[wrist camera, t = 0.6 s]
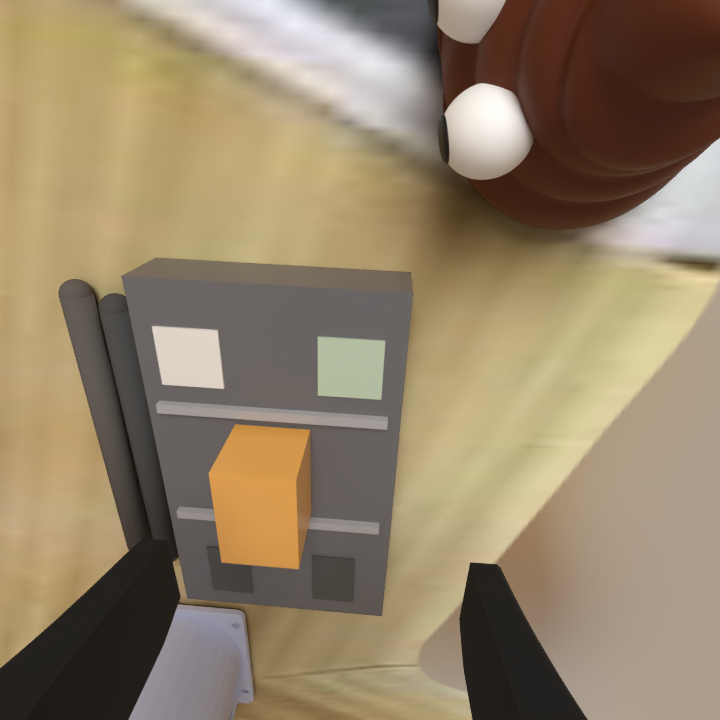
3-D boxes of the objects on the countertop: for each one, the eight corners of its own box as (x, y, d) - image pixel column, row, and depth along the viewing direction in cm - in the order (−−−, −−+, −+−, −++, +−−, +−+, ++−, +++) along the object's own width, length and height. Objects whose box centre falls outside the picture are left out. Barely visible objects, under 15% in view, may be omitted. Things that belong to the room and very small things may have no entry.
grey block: (382, 572, 25) (381, 621, 23) (205, 557, 26) (185, 603, 23) (410, 272, 17) (412, 296, 15) (155, 257, 18) (116, 278, 15)
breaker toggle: (311, 512, 20) (298, 569, 17) (243, 506, 20) (221, 562, 17) (310, 429, 18) (296, 479, 15) (235, 424, 18) (208, 473, 15)
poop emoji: (685, 202, 16) (1009, 281, 7) (437, 238, 17) (478, 344, 9) (745, -211, 11) (1683, -1126, 3) (406, -124, 13) (426, -619, 4)
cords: (185, 551, 25) (176, 569, 24) (138, 547, 26) (127, 565, 24) (132, 278, 18) (116, 287, 17) (67, 274, 18) (47, 283, 17)
